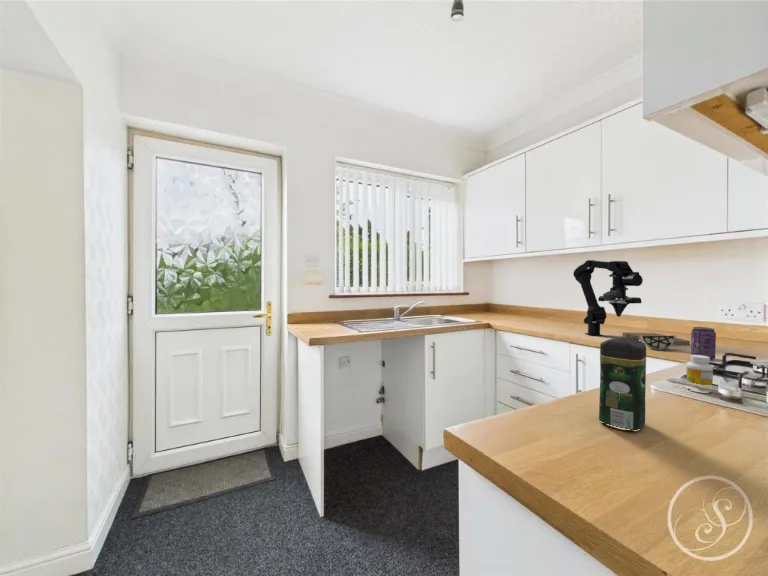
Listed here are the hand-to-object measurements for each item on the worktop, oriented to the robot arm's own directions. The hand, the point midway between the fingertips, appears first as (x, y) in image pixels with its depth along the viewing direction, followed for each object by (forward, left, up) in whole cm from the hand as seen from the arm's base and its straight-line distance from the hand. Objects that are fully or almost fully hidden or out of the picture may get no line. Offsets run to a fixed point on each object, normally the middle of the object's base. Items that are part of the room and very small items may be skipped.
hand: (618, 316), depth 174 cm
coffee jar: (+105, -61, -12) cm, 122 cm away
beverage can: (+39, +9, -12) cm, 42 cm away
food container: (+16, +7, -10) cm, 21 cm away
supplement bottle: (+81, -26, -12) cm, 86 cm away
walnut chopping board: (-1, +18, -12) cm, 22 cm away
